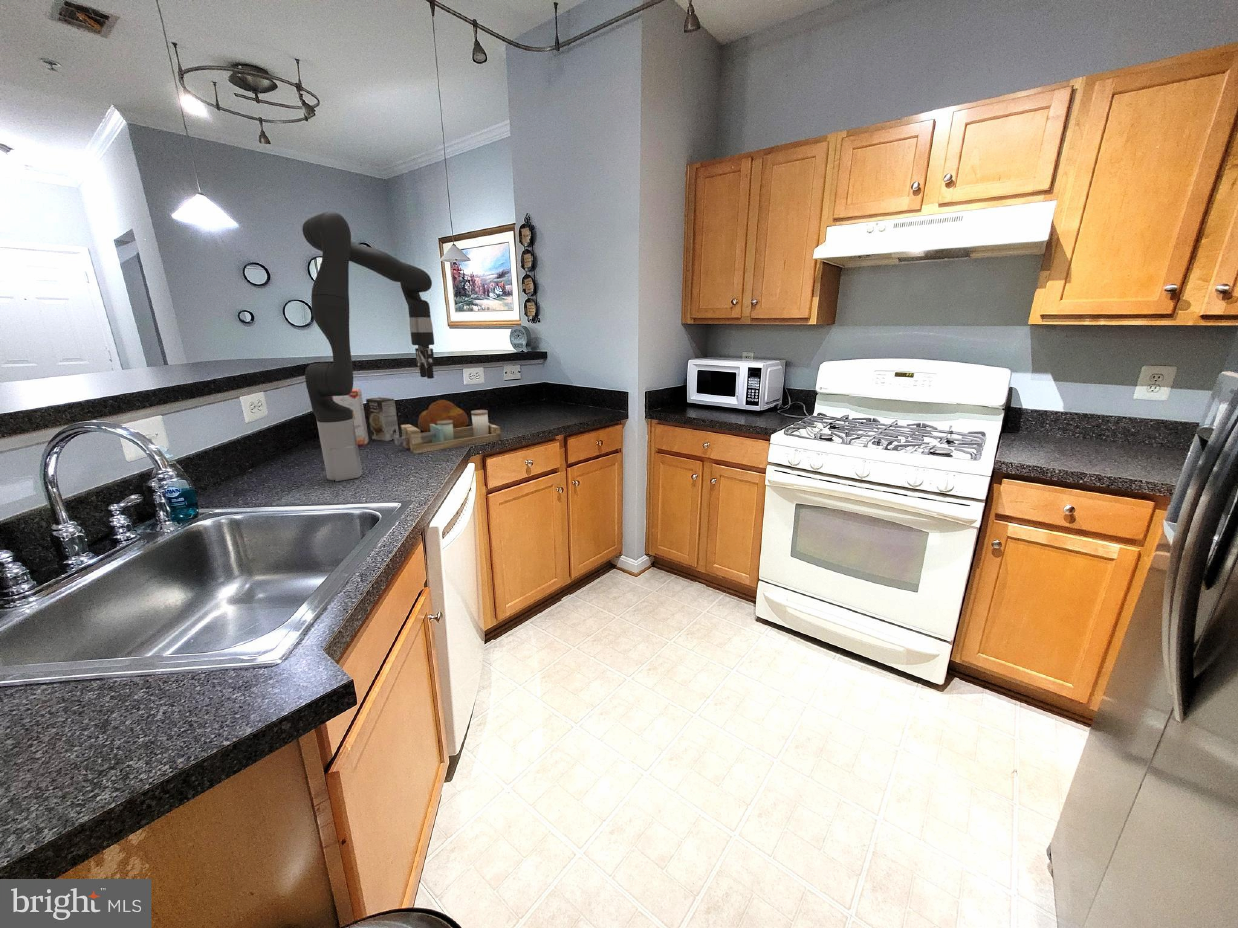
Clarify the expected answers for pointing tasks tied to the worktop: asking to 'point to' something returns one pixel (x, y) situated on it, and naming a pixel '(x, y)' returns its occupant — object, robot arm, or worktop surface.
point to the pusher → (426, 435)
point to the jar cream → (480, 422)
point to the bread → (442, 415)
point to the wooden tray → (417, 447)
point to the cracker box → (355, 413)
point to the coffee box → (382, 418)
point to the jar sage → (446, 429)
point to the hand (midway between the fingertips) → (427, 377)
